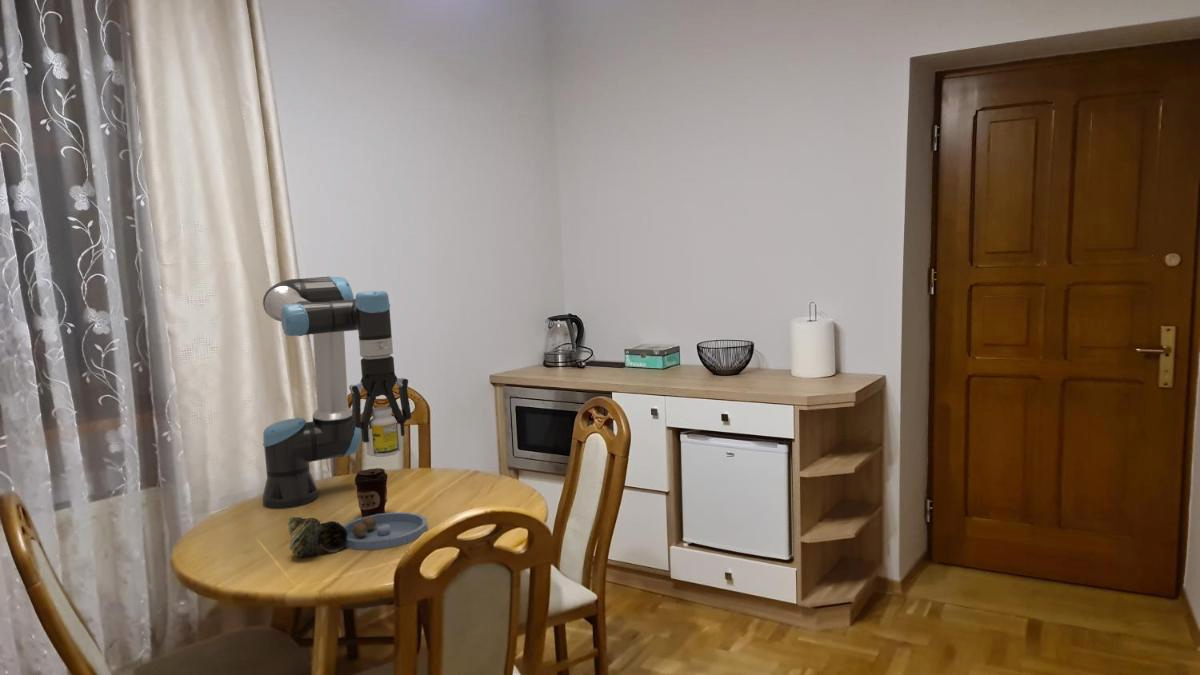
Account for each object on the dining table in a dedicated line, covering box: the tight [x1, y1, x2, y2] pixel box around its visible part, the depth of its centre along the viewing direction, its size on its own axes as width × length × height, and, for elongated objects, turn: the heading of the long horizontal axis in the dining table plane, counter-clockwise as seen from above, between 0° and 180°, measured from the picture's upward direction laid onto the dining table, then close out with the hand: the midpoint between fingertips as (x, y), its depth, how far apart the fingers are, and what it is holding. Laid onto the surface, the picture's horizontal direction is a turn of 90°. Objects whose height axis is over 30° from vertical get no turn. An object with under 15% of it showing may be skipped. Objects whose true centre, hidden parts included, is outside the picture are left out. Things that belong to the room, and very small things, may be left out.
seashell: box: [287, 516, 347, 558], centre depth 185 cm, size 11×11×10 cm
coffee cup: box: [354, 467, 388, 518], centre depth 211 cm, size 9×8×13 cm
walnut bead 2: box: [362, 517, 376, 531], centre depth 200 cm, size 4×4×4 cm
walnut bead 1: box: [353, 523, 367, 538], centre depth 195 cm, size 4×4×4 cm
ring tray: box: [343, 511, 428, 551], centre depth 197 cm, size 21×21×3 cm
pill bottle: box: [369, 406, 399, 458], centre depth 189 cm, size 6×6×11 cm
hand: (384, 452), depth 190 cm, fingers closed on pill bottle, 6 cm apart
